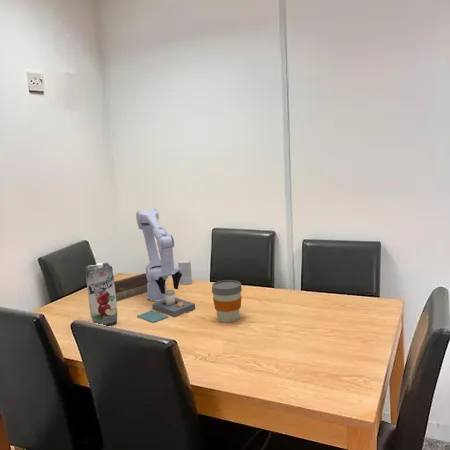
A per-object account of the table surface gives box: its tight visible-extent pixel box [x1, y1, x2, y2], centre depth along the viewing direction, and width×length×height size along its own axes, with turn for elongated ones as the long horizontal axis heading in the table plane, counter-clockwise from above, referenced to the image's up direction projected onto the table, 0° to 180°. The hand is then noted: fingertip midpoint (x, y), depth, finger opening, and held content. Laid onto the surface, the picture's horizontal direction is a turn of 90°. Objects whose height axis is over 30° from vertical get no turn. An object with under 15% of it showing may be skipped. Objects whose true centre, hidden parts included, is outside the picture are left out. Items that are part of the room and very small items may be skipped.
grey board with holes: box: [151, 297, 196, 318], centre depth 213 cm, size 16×12×2 cm
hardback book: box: [114, 272, 148, 303], centre depth 244 cm, size 29×19×5 cm, turn 132°
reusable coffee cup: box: [211, 279, 243, 323], centre depth 197 cm, size 13×13×15 cm
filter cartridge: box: [165, 289, 176, 306], centre depth 214 cm, size 4×4×8 cm
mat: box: [136, 309, 169, 324], centre depth 205 cm, size 12×8×1 cm, turn 46°
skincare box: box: [177, 260, 193, 285], centre depth 250 cm, size 6×4×12 cm
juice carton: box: [85, 262, 118, 326], centre depth 198 cm, size 9×10×27 cm
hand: (169, 291), depth 213 cm, fingers open, 7 cm apart
